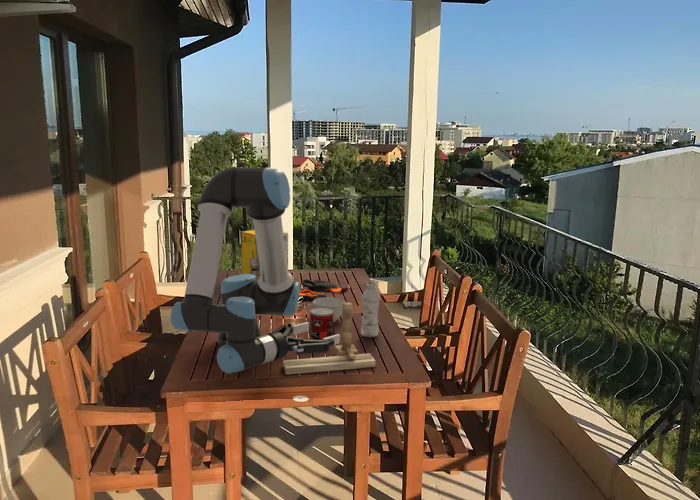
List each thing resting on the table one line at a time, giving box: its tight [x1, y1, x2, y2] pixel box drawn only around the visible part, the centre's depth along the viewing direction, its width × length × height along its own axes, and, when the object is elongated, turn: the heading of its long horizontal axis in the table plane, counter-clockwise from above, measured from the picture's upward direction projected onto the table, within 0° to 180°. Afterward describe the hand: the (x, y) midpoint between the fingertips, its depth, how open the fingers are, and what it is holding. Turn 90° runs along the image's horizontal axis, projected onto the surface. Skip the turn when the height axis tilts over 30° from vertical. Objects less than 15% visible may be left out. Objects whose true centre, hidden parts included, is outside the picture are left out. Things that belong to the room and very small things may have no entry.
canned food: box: [309, 308, 334, 340], centre depth 186 cm, size 8×8×11 cm
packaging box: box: [241, 229, 289, 280], centre depth 261 cm, size 16×16×25 cm
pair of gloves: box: [299, 279, 349, 302], centre depth 248 cm, size 27×24×3 cm
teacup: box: [305, 296, 346, 323], centre depth 208 cm, size 15×12×8 cm
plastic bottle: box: [360, 281, 381, 338], centre depth 190 cm, size 6×7×20 cm
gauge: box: [334, 302, 359, 359], centre depth 169 cm, size 11×6×18 cm, turn 15°
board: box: [282, 353, 377, 375], centre depth 165 cm, size 6×28×2 cm, turn 105°
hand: (323, 332), depth 165 cm, fingers open, 13 cm apart
